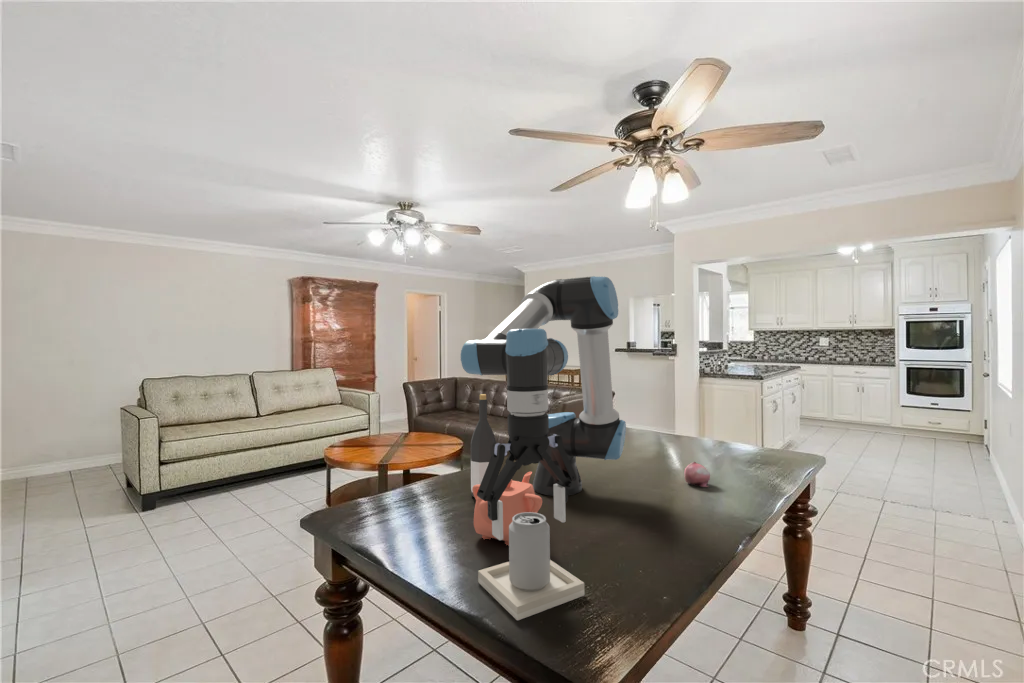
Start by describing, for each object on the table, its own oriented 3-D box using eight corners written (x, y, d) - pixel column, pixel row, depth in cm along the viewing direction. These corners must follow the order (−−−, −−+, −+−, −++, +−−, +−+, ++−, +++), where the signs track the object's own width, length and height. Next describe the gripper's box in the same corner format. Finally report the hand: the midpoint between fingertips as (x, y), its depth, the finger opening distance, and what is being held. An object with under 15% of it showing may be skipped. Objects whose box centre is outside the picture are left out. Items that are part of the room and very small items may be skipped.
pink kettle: (480, 554, 97) (479, 492, 97) (467, 526, 112) (467, 472, 112) (553, 544, 101) (553, 485, 101) (531, 518, 116) (531, 467, 117)
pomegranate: (685, 483, 147) (689, 461, 149) (711, 490, 143) (714, 467, 144) (679, 481, 141) (683, 458, 142) (706, 488, 136) (710, 464, 138)
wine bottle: (477, 501, 130) (476, 396, 130) (465, 493, 136) (464, 394, 137) (502, 496, 134) (501, 394, 134) (489, 489, 141) (488, 392, 141)
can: (547, 596, 78) (546, 526, 78) (505, 592, 80) (504, 523, 80) (552, 574, 85) (551, 511, 86) (513, 571, 87) (513, 508, 87)
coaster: (478, 582, 85) (478, 570, 85) (539, 563, 92) (539, 552, 92) (517, 620, 73) (517, 606, 73) (584, 595, 80) (584, 582, 80)
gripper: (475, 423, 73) (478, 553, 73) (593, 408, 86) (595, 519, 86) (456, 417, 80) (459, 536, 80) (569, 404, 93) (570, 507, 93)
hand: (530, 528), depth 83 cm, fingers open, 13 cm apart
